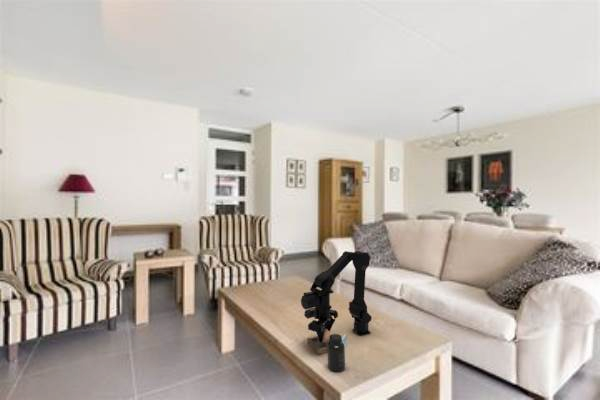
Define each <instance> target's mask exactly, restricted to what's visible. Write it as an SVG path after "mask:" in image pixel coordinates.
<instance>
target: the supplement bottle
mask: <svg viewBox="0 0 600 400" xmlns="http://www.w3.org/2000/svg"><path fill="white" fill-rule="evenodd" d="M342 337H343V336H342V335H341V334H340V333H339V334H338V333H332V334H331V335H330V340H329V341H330V342H329V343H328V345H327V353H326V355H327V367H328V369H329V370H330V371H331V372H334V373H339V372H342V371H344V370H345V368H346V352H345V351H346V349H345V347H346V346H344V344H343V343H342Z"/></svg>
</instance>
